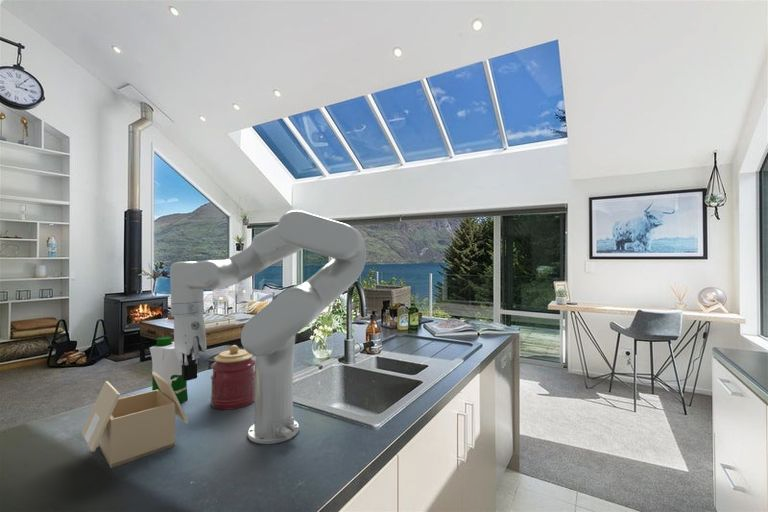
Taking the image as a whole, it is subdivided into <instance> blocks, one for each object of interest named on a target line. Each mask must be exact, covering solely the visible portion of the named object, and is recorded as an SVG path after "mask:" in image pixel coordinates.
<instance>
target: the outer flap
mask: <svg viewBox="0 0 768 512" xmlns="http://www.w3.org/2000/svg"><path fill="white" fill-rule="evenodd" d="M119 398H121V393H120V392H119V391H118V390H117V389H116V388H115V387H114V386H113V385H112V384H111V382H110V381H107V380H106V381H105V382H104V383H103V386H102V388H101V389H100V392H99V394H98V396H97V397H96V401H95V403H94V405H93V406H92V408H91V411H90V412H89V415H88V417H87V419H86V422H85V424H84V426H83V428H82V430H81V432H80V433H81V434H82V436H83V438H84V440H85V442H86V444H87V446H88V448H89V450H90V452H96V449H97V447H98V446H99V441H100V439H101V436H102V434H103V432H104V430H105V428H106V425H107V423H108V421H109V419H110V417H111V414H112V412H113V410H114V408H115V406H116V403H117V401H118V399H119Z"/></svg>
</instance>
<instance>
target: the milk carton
mask: <svg viewBox="0 0 768 512" xmlns="http://www.w3.org/2000/svg"><path fill="white" fill-rule="evenodd" d="M172 338H173V337H172V336H161V337H157V338H156V344H155V345H153V346H151V347H149V352H150V356H151V360H152V364H151V366H152V369H151V370H152V372H156V373H157V374H158V375H160V376H161V377H163V378H164V379H165V380H167V381H168V382H170V384H171V386H172V388H173V390H174V393H175V395H176V397H177V399H178V401H179V403H180V404H182V403H184V402H185V401H186V402H187V401H188V400H189V398H188V397H189V395H188V384H187V383H188V381H184V380H182V365H183V364H182V363H181V354H180V353H179V351H177V350H176V349H175V346H174V341H173V339H172ZM152 372H151V373H152ZM151 376H152V377H151V378H152V379H151V380H152V385H151V386H152V387H151V391H153V390H159V391H160V389H159V387H158V385H157V383H156V381H155V379H154V377H153V375H151Z"/></svg>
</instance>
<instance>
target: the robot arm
mask: <svg viewBox="0 0 768 512" xmlns="http://www.w3.org/2000/svg"><path fill="white" fill-rule="evenodd" d="M366 248H367V247H366V242H365V239H364V236H363V235H362V234H361V232H360V231H359V230H358V229H356V228H355V227H353V226H352V225H349V224H347V223H344V222H340V221H337V220H334V219H329V218H327V217H324V216H319V215H316V214H312V213H309V212H307V211H304V210H300V209H294V210H290V211H287V212H285V213H284V214H283V215H282V216H281V217H280V219H279V220H278V223H277V224H276V225H273V226H271V227H270V228H268V229H266V230H264V231H261V232H260V233H257V234H256V235H254V237H252V241H251V243H250V245H249V246H248V247H247V248H245V249H244V250H242V251H240V252H238V253H236V254H234V255H232V256H231V257H228V258H225V259H207V260H201V261H193V260H192V261H176V262H173V263H172V264H171V265H170V267H169V270H170V271H169V275H170V277H169V279H170V284H169V285H170V307H171V308H170V315H171V317H173V318H174V320H173V342H174V346H175V349H176V350H177V351H179V353H180V354H181V363H182V364H183V365H182V380H184V381H187V382H188V381H191V380H196V379H197V378H198V359H199V360H200V352H201V353H205V352H206V351H207V336H206V326H205V325H206V324H205V318H204V315H203V314H204V313H205V306H204V305H205V303H204V295H205V294H204V290H209V291H210V290H218V289H221V288H228V287H232V286H234V285H237V284H239V283H241V282H243V281H245V280H247V279H250V278H251V277H252V276H255V275H257V274H259V273H260V272H262V271H264V270H266V269H267V268H269V267H270V266H272V265H273V264H274V265H275V264H276V263H277V262H279V261H282V260H283V259H286V258H287V257H289V256H292V255H294V254H295V253H298V252H300V251H302V250H305V251H309V252H313V253H316V254H320V255H323V256H326V257H330V258H331V260H330V261H328V263H326V264H325V265H323V266H322V267H321V268H320V269H318V270H317V272H315V273H314V274H313V275H311V277H309V278H308V279H307V280H305V281H304V282H302V283H301V284H298V285H294V286H291V287H289V288H287V289H286V290H284V291H283V292H281V293H280V294H279V295H277V296H276V297H275V298H274V299H273V300H271V301H270V302H269V303H268V304H267V305H265V306H264V307H263V308H261V309H260V310H259V311H258V312H257V313H255V315H253V316H252V317H251V318H250V319H249V320H247V321H246V323H245V324H244V325H243V328H242V330H241V332H240V333H241V335H240V342H241V345H242V347H243V350H246V351H247V352H248V353H250V354H252V355H253V357H254V356H255V359H254V360H255V365H254V370H255V400H254V413H253V415H254V420H253V421H254V423H253V424H252V425H251V426H250V427H249V428H248V430H247V438H248V439H249V440H250V441H251V442H253V443H256V444H261V445H272V444H273V445H274V444H279V443H282V442H286V441H288V440H291V439H292V438H294V437H295V436H296V435H297V434H298V432H299V431H300V430H299V428H300V427H299V426H300V425H299V423H298V421H296V420H295V417H294V416H293V415H294V414H293V413H294V355H295V353H294V352H295V351H294V350H295V344H296V335H297V334H298V333H299V332H300V331H301V330H303V329H305V328H306V327H307V326H308V325H310V323H312V321H314V320H315V319H317V317H319V316H320V314H321V313H322V312H323V311H324V310H325V309H326V308H328V306H330V305H331V304H333V302H334V301H336V300H337V299H338V298H339V297H340V296H341V295H342V294H343V293H345V292H346V291H347V290H348V289H349V288H350V287H351V286H352V285H354V283H356V282H357V280H358V279H359V278H360V276H361V274H362V273H363V270H364V269H365V266H366V261H367V249H366Z"/></svg>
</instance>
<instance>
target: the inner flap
mask: <svg viewBox="0 0 768 512" xmlns="http://www.w3.org/2000/svg"><path fill="white" fill-rule="evenodd" d="M151 374H152V375H153V377H154V379H155V381H156V383H157V385H158V387H159V389H160V391H161V392H162V393H163V394H164V395H166V396H167V397H168V398H169V399H171V400H172V401H173V402H174V403H175V416H177V417H178V418H180V420H182V421H183V422H184V423H185V424H188V423H189V420H188V417H187V415H186V413H185V411H184V409H183V407H182V405H181V403H179V401H178V399H177V397H176V395H175V393H174V390H173V388H172V386H171V384H170V382H168V381H167V380H165V379H164V378H163V377H161V376H160V375H158V374H157V373H156V372H151ZM152 375H151V376H152Z"/></svg>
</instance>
